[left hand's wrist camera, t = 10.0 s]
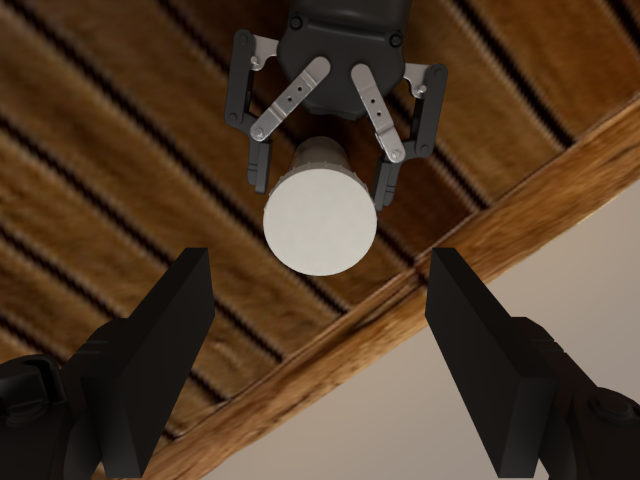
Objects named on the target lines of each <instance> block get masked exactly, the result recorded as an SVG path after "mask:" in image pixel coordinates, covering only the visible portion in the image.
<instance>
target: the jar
mask: <svg viewBox="0 0 640 480" xmlns="http://www.w3.org/2000/svg"><path fill="white" fill-rule="evenodd" d="M324 161H326V163H331V164H336V165H338V166H340V165H342V167H343V168H345V169H347V170H349V171H350V172H352V173H353V171H352V169H351V166H350V163H349V161H348V158H347V155H346V153H345V151H344V149H343V148H342V146H341V145H340V144H339V143H338V142H336V141H335V140H333V139H331V138H328V137H324V136H316V137H312V138H309V139H307V140H305V141H304V142H302V143H301V144H300V145H299V146H298V148H297V149H296V151H295V153H294V155H293V158H292V161H291V163H290V166H289V169H288V171H287V173H288V172H290V171H291V170H292V169H293V167H295V168H297V167H299V166H301V165H305V164H308V162H310V163H314V162H324Z"/></svg>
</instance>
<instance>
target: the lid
mask: <svg viewBox="0 0 640 480" xmlns="http://www.w3.org/2000/svg"><path fill="white" fill-rule="evenodd" d="M269 196H270V197H269V200H268V202H267V203H266V205H265V207H264V210H265V212H264V220H263V226H264V232H265V236H266V239H267V242H268V244H269V246H270V248H271V250H272V251H273V252H274V254H275V255H276V256H277V257H278V258H279V259H280V260H281V261H282V262H283V263H284V264H286V265H287V266H289V267H290V268H292V269H294V270H296V271H298V272H301V273H304V274H309V275H317V276H322V275H331V274H335V273H339V272H342V271H344V270H346V269H348V268H350V267H352V266H353V265H354V264H356V263H357V262H358V261H359V260H360V259H361V258H362V257H363V256H364V255H365V254H366V253H367V251H368V250H369V248H370V246H371V244H372V242H373V240H374V236H375V233H376V226H377V217H376V211H375V208H374V205H375V203H374V201H373V199H372V197H370V195H369V193H368V188H367V186H366V184H363V183H362V182H361V180H360V179H359V178H358V177H357V176H356V173H352V172H350V171H349V170H347V169H345V168H343V167H342V165H340V166H338V165H336V164H331V163H326V161H324V162H314V163H310V162H308V164H305V165H301V166H299V167H297V168H295V167H293V169H292V170H291V171H290V172H288V173H287V174H286V175H284V176H281V177H280V179H279V182H278V183H277V184H276V186H275V187H274V189H273V188H272V189H271V191H270V194H269Z"/></svg>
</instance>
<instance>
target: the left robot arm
mask: <svg viewBox="0 0 640 480" xmlns="http://www.w3.org/2000/svg"><path fill="white" fill-rule="evenodd" d="M214 317H215V309H214V300H213V291H212V282H211V273H210V264H209V255H208V248H185V249H184V251H183V252H182V253H181V254H180V255H179V257H178V258H177V259H176V260H175V261H174V263H173V264H172V265H171V266H170V268H169V269H168V270H167V271H166V272H165V274H164V275H163V276H162V277H161V279H160V280H159V281H158V282H157V283H156V285H155V286H154V287H153V288H152V289H151V291H150V292H149V293H148V294H147V296H146V297H145V298H144V299H143V300H142V302H141V303H140V304H139V305H138V306H137V308H136V309H135V310H134V311H133V313H132V314H131V315H130V316H129V317H128V318H114V319H112V320H111V321H109V322H107V323H106V324H104V325H103V326H101V327H99V328H98V329H97V330H96V331H95V332H94V333H93V334H92V335H91V336H90V337H89V338H88V340H87V341H86V344H83V345H82V346H81V347H80V348H79V349H78V351H77V354H74V355H73V356H72V357H71V358H70V359H69V360H68V361H67V363H66V364H65V365H64V366H63V367H62V368H61V369H59V366H58V362H57V360H56V359H55V358H53V357H52V356H50V355H43V354H35V355H26V356H22V357H19V358H15V359H12V360H9V361H7V362H5V363H3V364H0V480H92V479H91V476H92V475H93V473H94V471H95V470H96V468H97V466H98V464H99V463H100V461H101V459H102V462H103V466H104V470H105V473H106V477H107V478H142V476H143V474H144V471H145V469H146V467H147V465H148V463H149V460H150V458H151V456H152V454H153V452H154V449H155V447H156V445H157V443H158V441H159V438H160V436H161V434H162V432H163V430H164V427H165V425H166V423H167V421H168V419H169V416H170V414H171V412H172V410H173V407H174V405H175V403H176V401H177V399H178V396H179V394H180V392H181V390H182V388H183V385H184V383H185V381H186V379H187V377H188V374H189V372H190V370H191V368H192V366H193V363H194V361H195V359H196V357H197V355H198V352H199V350H200V348H201V346H202V344H203V341H204V339H205V337H206V335H207V333H208V330H209V328H210V326H211V324H212V321H213V319H214ZM425 317H426V319H427V321H428V324H429V326H430V328H431V330H432V332H433V335H434V337H435V339H436V341H437V343H438V346H439V348H440V350H441V352H442V355H443V357H444V359H445V361H446V363H447V366H448V368H449V370H450V372H451V374H452V377H453V379H454V381H455V383H456V385H457V388H458V390H459V392H460V394H461V396H462V399H463V401H464V403H465V405H466V407H467V410H468V412H469V414H470V416H471V419H472V421H473V423H474V425H475V427H476V430H477V432H478V434H479V436H480V438H481V440H482V443H483V445H484V447H485V449H486V452H487V454H488V456H489V458H490V460H491V463H492V465H493V467H494V469H495V471H496V474H497V476H498V478H533V477H534V473H535V469H536V466H537V462H538V459H540V461H541V462H542V464H543V466H544V467H545V469H546V471H547V473H548V474H549V479H548V480H640V405H639V404H638V403H636V402H635V401H634V400H632V399H630V398H628V397H626V396H624V395H622V394H621V393H618V392H615V391H612V390H609V389H606V388H602V387H597V386H596V385H595V384H594V382H593V381H592V380H591V379H590V378H589V377H588V376H587V375H586V374H585V373H584V372H583V371H582V369H581V368H580V367H579V366H578V365H577V364H576V363H575V362H574V361H573V360H572V359H571V357H570V356H569V355H568V354H567V353H564V350H563V349H562V348H561V347H560V345H559V344H558V343H557V342H554V339H553V338H552V337H551V336H550V335H549V334H548V332H547V331H546V330H545V329H544V328H543V327H541V326H540V325H538V324H537V323H535V322H533V321H532V320H530V319H528V318H527V317H511V316H510V315H509V314H508V313H507V311H506V310H505V309H504V308H503V306H502V305H501V304H500V303H499V302H498V300H497V299H496V298H495V297H494V296H493V294H492V293H491V292H490V291H489V289H488V288H487V287H486V286H485V285H484V283H483V282H482V281H481V280H480V279H479V277H478V276H477V275H476V274H475V272H474V271H473V270H472V269H471V268H470V266H469V265H468V264H467V263H466V261H465V260H464V259H463V258H462V257H461V255H460V254H459V253H458V252H457V251H456V249H455V248H432V255H431V264H430V273H429V282H428V291H427V300H426V309H425Z"/></svg>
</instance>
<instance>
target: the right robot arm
mask: <svg viewBox="0 0 640 480" xmlns="http://www.w3.org/2000/svg"><path fill="white" fill-rule="evenodd" d="M411 3H412V0H290V5H289V14H288V22H287V27H286V30H285V32H284V34H283V36H282V37H281V39H280V40H279V41H277V40H273V39H269V38H265V37H261V36H257V35H254V34H252V33H251V32H250V31H248V30H246V29H239V30H238V31H237V32H236V33H235V35H234V41H233V49H232V57H231V65H230V73H229V80H228V88H227V96H226V104H225V112H224V120H225V122H226V124H227V125H229V126H231V127H235V128H237V129H239V130H241V131H242V132H244V133H245V134H247V136H248V137H249V140H250V149H249V160H248V171H247V179H248V182H249V184H251V185H255V193H257V194H264V195H265V193H266V191H267V188H268V181H269V172H270V163H271V154H272V145H273V140H271V139H270V136H271V132H272V131H273V130H274V129H275V128H276V127H277V126H278V125H279V124H280V123H281V122H282V121H283V120H284V119H285V118H286V117H287V116H288V115H289V114H290V113H291V112H292V111H293V110H294V109H295V108H296V107H297V106H298V105H299V104H300V105H301V106H302V107H303V108H304V109H305V110H306V111H308V112H310V114H317V115H327V114H334V115H337V116H339V117H341V118H343V119H347V120H353V121H355V120H357V119H361V118H363V117H365V116H366V118H367V120H368V122H369V124H370V126H371V128H372V130H373V132H374V134H375V136H376V138H377V140H378V142H379V144H380V146H381V148H382V151H383V152H382V157H378V159H377V164H376V169H375V174H374V179H373V183H372V188H371V193H370V197H372V199H373V201H374V203H375V205H374V208H375V211H376V212H381V210H382V206H383V205H385V206H389V204H390V203H391V201H392V200H393V196H394V191H395V186H396V183H397V178H398V174H399V170H400V166H401V165H402V163H403V162H404V161H406V160H408V159H412V158H417V157H421V158H426V157H428V156H430V155H431V153H432V152H433V148H434V142H435V137H436V132H437V127H438V122H439V117H440V112H441V107H442V101H443V96H444V91H445V86H446V81H447V76H448V70H447V68H446V66H445V65H443V64H431V65H421V64H411V63H405V60H404V56H403V42H404V36H405V32H406V27H407V22H408V17H409V13H410V8H411ZM271 57H277V60H278V62H279V64H280V66H281V68H282V70H283V72H284V74H285V76H286V78H287V80H288V82H289V84H290V85H289V87H288V88H287V89H286V90H285V91H284V92H283V93H282V94H281V95H280V96H279V97H278V98H277V99H276V100H275V101H274V102H273V104H272V105H271V106H270V107H269V108H268V109H267V110H266V111H265V112H264V114H263V115H262V116H261V117H258V116H256V115H254V114H252V113H251V112H249V107H250V101H251V94H252V87H253V80H254V73H255V71H261V70H263V69H264V68H265V66H266V64H267V61H268V60H269V59H270V58H271ZM402 79H405V80H406V81H407V82H408V85H409V93H410V95H411V96H412V97H415V98H416V102H415V108H414V113H413V119H412V125H411V131H410V137H409V138H407V139H402V140H400V138H399V136H398V134H397V132H396V130H395V127H394V123H393V121H392V119H391V116H390V114H389V112H388V110H387V108H386V105H385V103H384V101H383V99H384V98H385V97H386V96H387V95H388V94H389V93H390V92H391V91H392V90H393V89H394V88H395V87H396V86H397V85H398V84H399V83H400V82H401V80H402Z"/></svg>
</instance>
